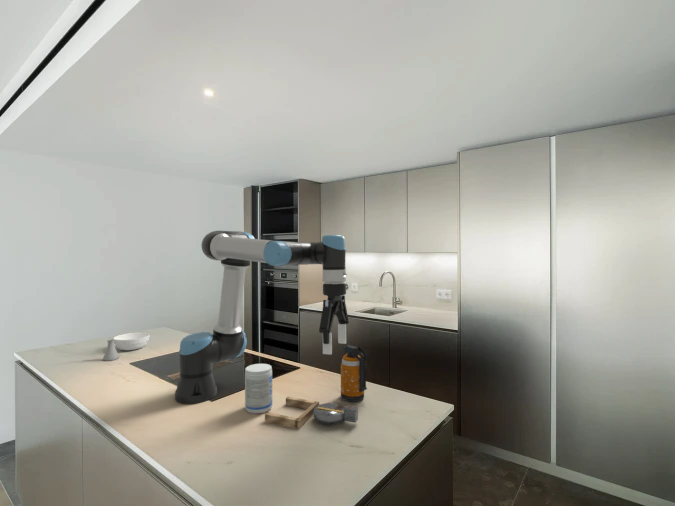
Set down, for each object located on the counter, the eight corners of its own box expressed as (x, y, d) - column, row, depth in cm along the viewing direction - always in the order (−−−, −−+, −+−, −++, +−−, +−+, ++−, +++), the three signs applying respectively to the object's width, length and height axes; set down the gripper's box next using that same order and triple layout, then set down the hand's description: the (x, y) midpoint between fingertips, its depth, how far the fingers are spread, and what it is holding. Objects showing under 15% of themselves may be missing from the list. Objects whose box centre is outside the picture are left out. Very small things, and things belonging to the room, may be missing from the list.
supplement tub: (276, 410, 123) (276, 368, 123) (250, 417, 118) (250, 373, 118) (266, 400, 131) (266, 361, 131) (241, 406, 126) (241, 366, 126)
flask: (113, 361, 179) (113, 341, 179) (99, 361, 179) (99, 341, 179) (122, 357, 186) (122, 338, 186) (108, 357, 186) (108, 338, 186)
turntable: (307, 420, 113) (307, 408, 113) (321, 406, 123) (321, 395, 123) (351, 429, 108) (351, 416, 108) (362, 413, 118) (362, 401, 118)
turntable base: (316, 422, 114) (316, 419, 114) (324, 413, 121) (324, 410, 121) (336, 426, 112) (336, 423, 112) (343, 417, 118) (343, 414, 118)
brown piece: (264, 421, 115) (264, 414, 115) (287, 403, 129) (287, 396, 129) (299, 429, 110) (299, 421, 110) (319, 409, 124) (319, 402, 124)
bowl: (105, 352, 195) (105, 339, 195) (129, 343, 213) (129, 332, 213) (134, 354, 192) (134, 340, 192) (156, 345, 210) (156, 333, 210)
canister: (351, 391, 140) (351, 341, 140) (373, 399, 132) (373, 346, 132) (335, 397, 134) (335, 345, 134) (357, 407, 126) (357, 351, 126)
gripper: (331, 286, 100) (332, 360, 100) (356, 280, 124) (357, 340, 124) (307, 285, 103) (308, 358, 103) (336, 279, 126) (337, 338, 126)
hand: (335, 348), depth 113 cm, fingers open, 13 cm apart
